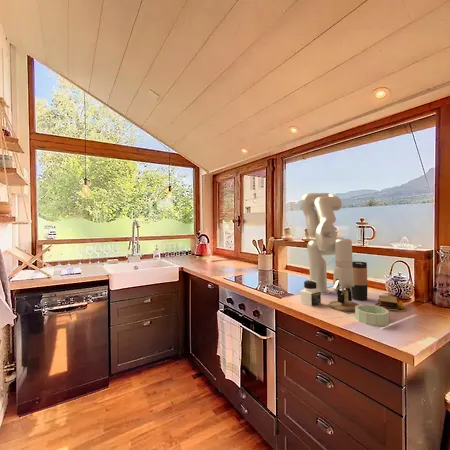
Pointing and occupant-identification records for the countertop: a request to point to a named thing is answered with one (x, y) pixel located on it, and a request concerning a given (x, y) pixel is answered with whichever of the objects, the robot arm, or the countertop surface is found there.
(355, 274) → the travel mug
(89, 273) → the countertop surface
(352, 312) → the mat
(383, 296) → the toy sandwich meal
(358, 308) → the bowl
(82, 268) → the countertop surface
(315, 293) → the medicine bottle
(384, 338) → the countertop surface
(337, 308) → the lid
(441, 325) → the countertop surface
